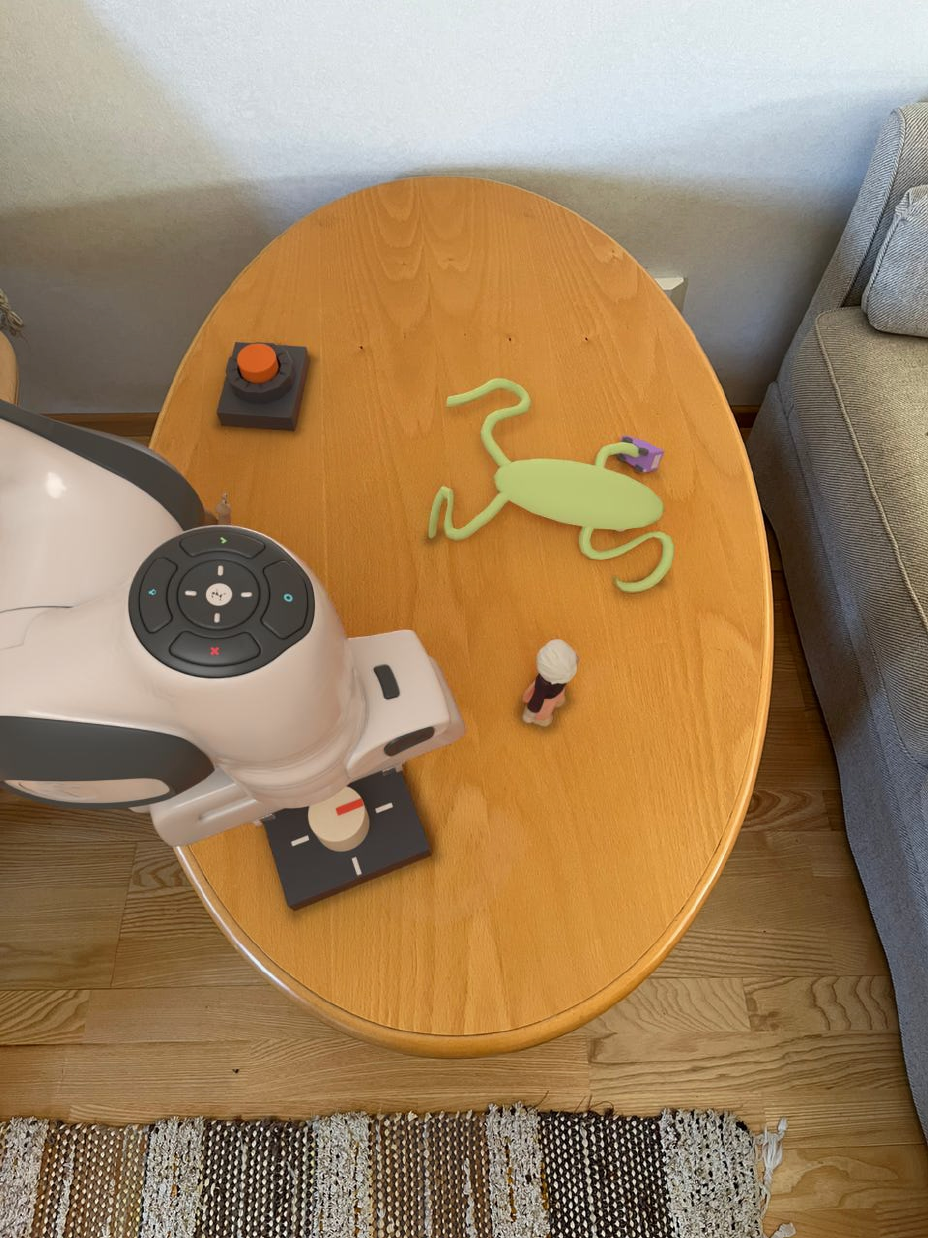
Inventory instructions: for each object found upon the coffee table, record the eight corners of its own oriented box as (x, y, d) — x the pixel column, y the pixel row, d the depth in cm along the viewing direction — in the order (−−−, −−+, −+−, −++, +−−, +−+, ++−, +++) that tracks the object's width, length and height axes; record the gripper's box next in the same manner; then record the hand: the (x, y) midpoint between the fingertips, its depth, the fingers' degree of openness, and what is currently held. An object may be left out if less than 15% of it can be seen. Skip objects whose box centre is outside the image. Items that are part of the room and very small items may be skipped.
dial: (325, 860, 67) (317, 849, 63) (308, 809, 69) (300, 796, 65) (376, 839, 68) (372, 828, 64) (359, 789, 70) (353, 775, 66)
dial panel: (294, 911, 68) (287, 906, 66) (263, 809, 72) (256, 800, 69) (431, 855, 70) (430, 848, 68) (395, 759, 74) (392, 748, 71)
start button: (274, 385, 88) (271, 373, 87) (237, 382, 88) (233, 370, 87) (281, 356, 90) (278, 344, 88) (244, 353, 90) (241, 341, 89)
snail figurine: (252, 591, 81) (221, 524, 71) (186, 590, 81) (145, 523, 71) (259, 543, 84) (230, 471, 73) (195, 542, 84) (156, 470, 73)
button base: (294, 431, 90) (288, 406, 87) (221, 425, 90) (211, 400, 87) (309, 360, 95) (304, 334, 91) (239, 355, 95) (231, 329, 91)
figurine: (459, 397, 92) (459, 360, 87) (697, 461, 89) (712, 427, 84) (400, 531, 85) (396, 500, 80) (658, 608, 81) (671, 580, 76)
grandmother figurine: (538, 665, 78) (553, 603, 67) (576, 682, 78) (598, 622, 66) (505, 736, 75) (514, 684, 64) (544, 754, 74) (560, 704, 63)
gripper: (121, 847, 45) (196, 887, 57) (477, 710, 48) (474, 776, 60) (98, 741, 47) (174, 801, 60) (437, 618, 50) (442, 700, 63)
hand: (327, 788), depth 60 cm, fingers open, 8 cm apart
